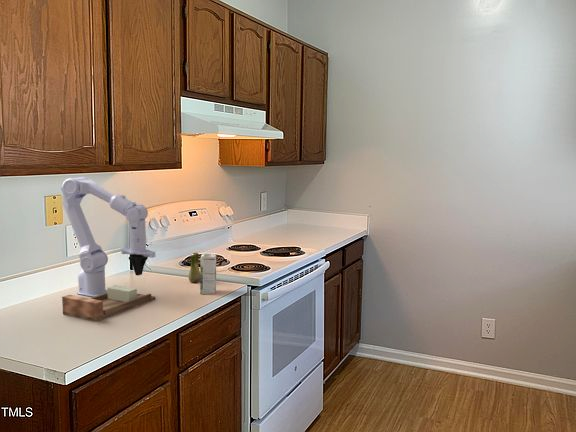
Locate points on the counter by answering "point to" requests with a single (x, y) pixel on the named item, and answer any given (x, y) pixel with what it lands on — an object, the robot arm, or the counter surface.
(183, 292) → the counter surface
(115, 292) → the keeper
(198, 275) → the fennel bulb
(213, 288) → the syrup box
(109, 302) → the track
